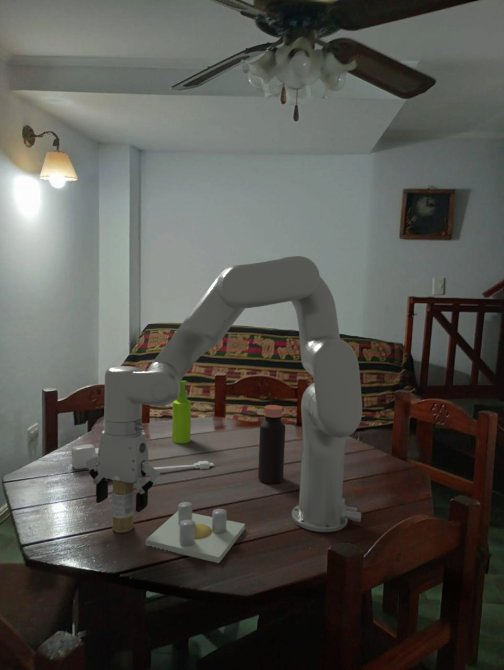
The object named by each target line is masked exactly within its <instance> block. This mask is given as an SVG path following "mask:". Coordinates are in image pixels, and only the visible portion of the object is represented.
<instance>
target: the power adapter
mask: <svg viewBox="0 0 504 670" xmlns="http://www.w3.org/2000/svg"><path fill="white" fill-rule="evenodd" d="M98 449H99V447H95V446H94V444H92V443H87V444H86V443H85V444H80V445H74V446H72V447H71V465H72V467H73V468H74V469H75V470H83V469H88V467H87V464H86V461H88V460H90V459H92V458H94V457H97V456H98Z"/></svg>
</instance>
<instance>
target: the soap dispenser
mask: <svg viewBox="0 0 504 670" xmlns="http://www.w3.org/2000/svg"><path fill="white" fill-rule="evenodd" d="M186 384H188V381H187V380H183V379H181V381H180V382H179V386H180V389H179V394H178V397H177V398H176V400H175V401H174V402H172V424H171V425H172V430H171V431H172V435H171V438H172V442H173V443H174V444H188V443H189V442H191V426H192V425H191V424H192V419H191V418H192V401H191V400H189V399H188V390H186Z"/></svg>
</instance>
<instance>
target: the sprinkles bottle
mask: <svg viewBox="0 0 504 670" xmlns="http://www.w3.org/2000/svg"><path fill="white" fill-rule="evenodd" d="M134 490H135V489H134V484H133V483H126V482H122V481H120V479H119V477H118V476H115V477H114V480H113V481H112V491H111V492H112V493H111V495H112V496H111V497H112V503H111V506H112V507H111V509H112V510H111V512H112V513H111V514H112V526H111V529H112V531H113V532H115V533H119V534H120V533H121V534H124V533H129V532H130V531H132V530H133V529H134V525H135V524H134V510H135V509H134V508H135V507H134V505H135V502H134V501H135V500H134V499H135V491H134Z"/></svg>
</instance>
